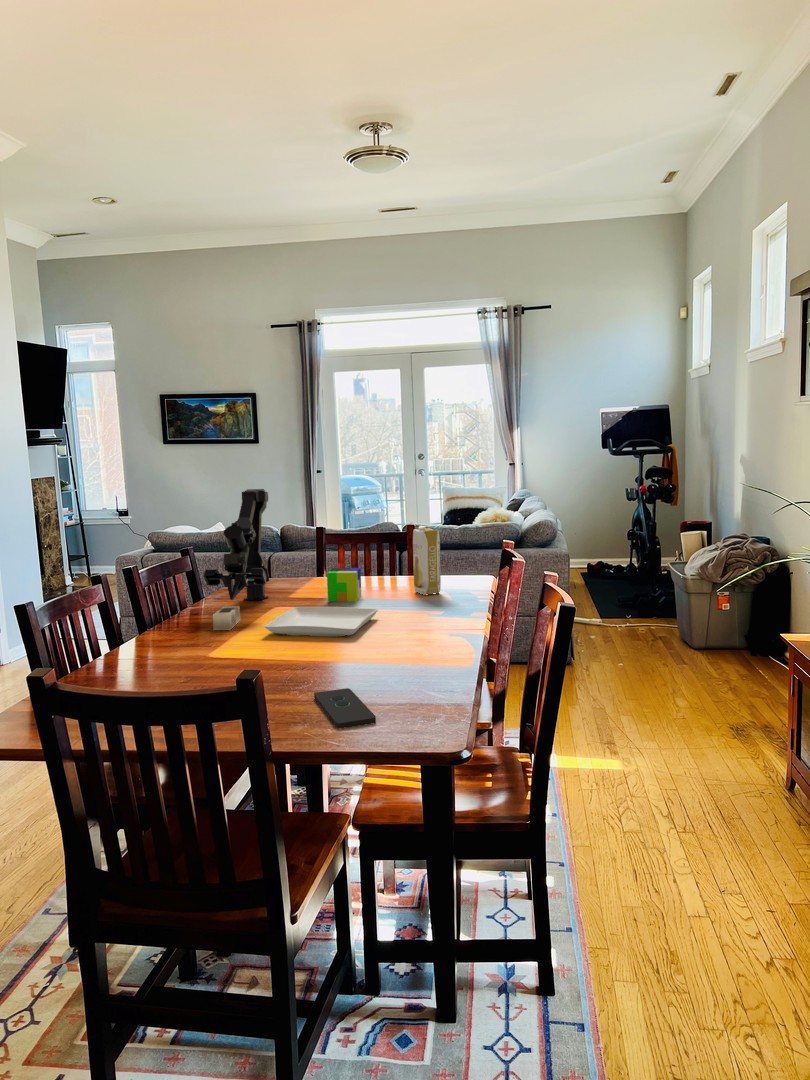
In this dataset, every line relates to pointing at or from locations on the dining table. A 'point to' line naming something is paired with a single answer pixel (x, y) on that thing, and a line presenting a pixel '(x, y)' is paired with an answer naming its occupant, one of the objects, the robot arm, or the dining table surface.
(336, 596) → the puzzle toy
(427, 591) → the juice carton
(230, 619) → the metal block
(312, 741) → the dining table surface
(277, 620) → the square plate
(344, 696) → the smart home device
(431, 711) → the dining table surface
